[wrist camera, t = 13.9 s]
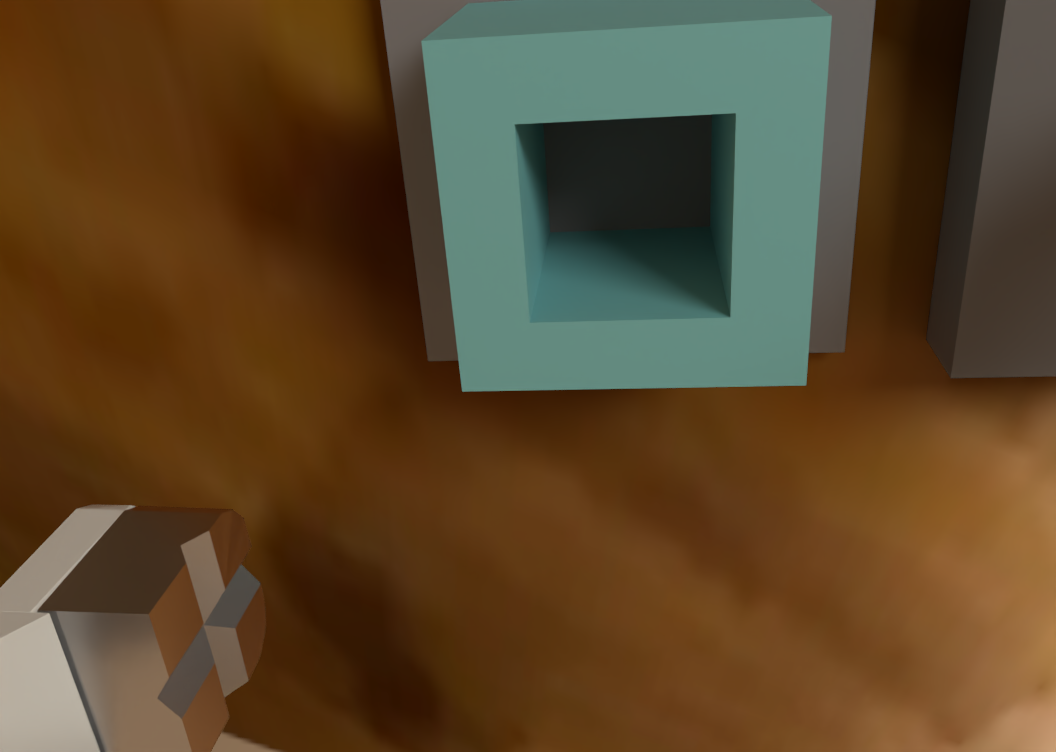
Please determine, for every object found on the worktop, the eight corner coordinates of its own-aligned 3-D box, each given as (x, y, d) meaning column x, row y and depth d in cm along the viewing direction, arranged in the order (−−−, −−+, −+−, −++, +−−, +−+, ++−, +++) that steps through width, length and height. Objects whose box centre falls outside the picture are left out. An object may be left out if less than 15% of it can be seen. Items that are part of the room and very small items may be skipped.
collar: (771, 282, 22) (806, 385, 18) (494, 290, 23) (462, 391, 18) (785, -18, 19) (831, 15, 15) (467, 3, 20) (421, 40, 15)
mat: (839, 341, 23) (844, 352, 23) (432, 350, 24) (428, 361, 24) (880, -127, 19) (886, -126, 18) (375, -87, 20) (369, -86, 19)
